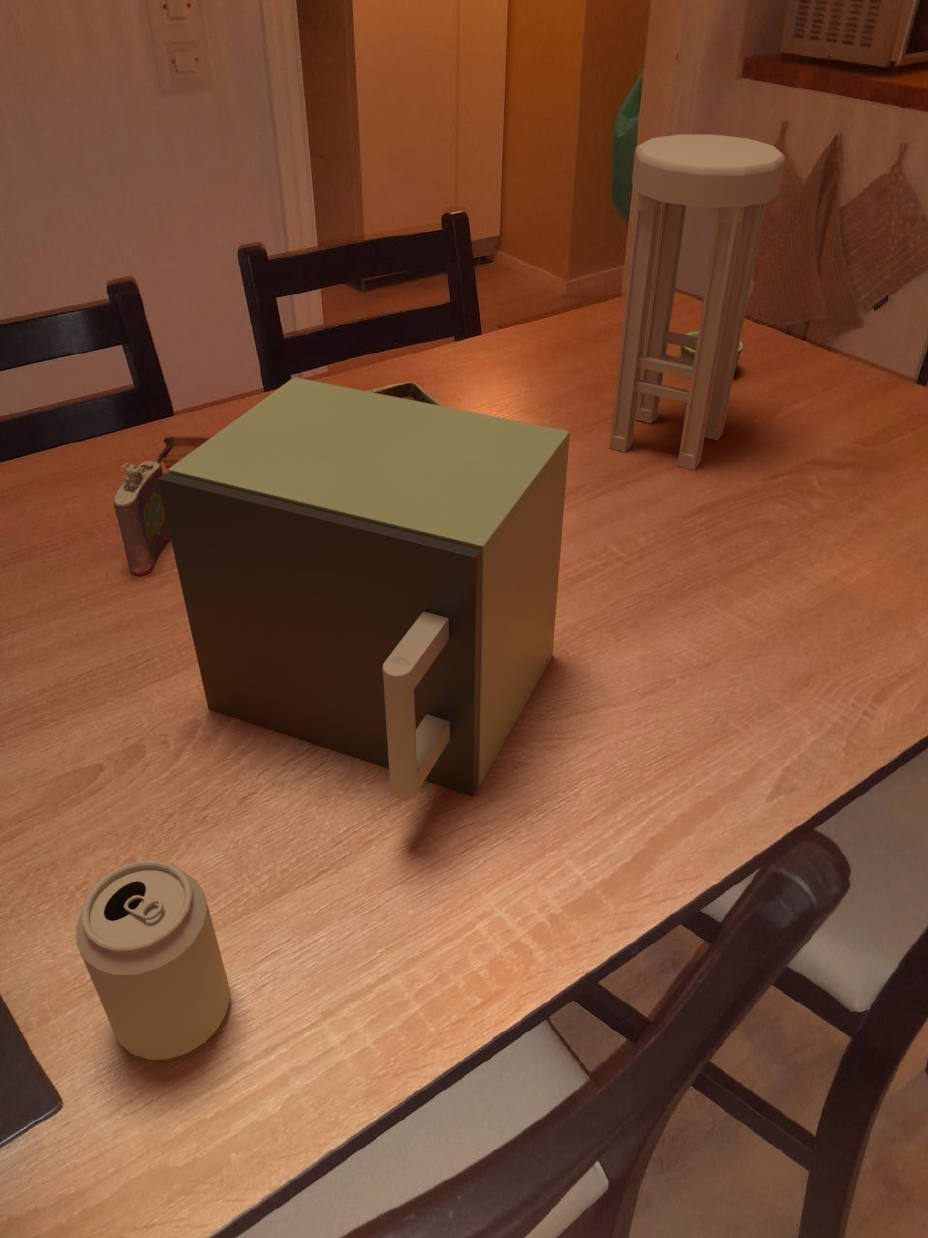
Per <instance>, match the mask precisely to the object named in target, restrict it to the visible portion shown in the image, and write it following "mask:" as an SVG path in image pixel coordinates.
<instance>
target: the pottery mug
mask: <svg viewBox="0 0 928 1238" xmlns="http://www.w3.org/2000/svg"><path fill="white" fill-rule="evenodd" d="M212 437H213V436H207V435H205V436H203V435H202V436H200V435H199V436H198V435H196V436H195V435H190V436H185V435H184V436H183V435H182V436H168V437H165V438H164V439H163V443H165V447H164V449H163V450H162V451H161V452H160V453H159V455H158V458H157V459H156V462H158V463H160V464H161V463H162V462H163V463H164V466H165V468H166V469H167V470H168V469H169V468H170V467H172V466H173V465H175V464H176V463H177V462H179V461H180V460H181V459H183V458H184V457H186V456H187V455H188V454H190V453H191V452H192V451H194V450H195V449H196V448H198V447H199V446H201V445H202V444H203V443H205V442H206V441H207V440H209V439H210V438H212Z"/></svg>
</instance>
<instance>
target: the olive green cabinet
mask: <svg viewBox="0 0 928 1238" xmlns="http://www.w3.org/2000/svg"><path fill="white" fill-rule="evenodd" d="M444 406H445V405H444ZM444 406H439V405H433V404H428V403H423V402H418V401H413V400H408V399H403V398H398V397H393V396H388V395H383V394H378V393H372V392H367V390H362V389H356V388H351V387H347V386H341V385H337V384H332V383H326V382H321V381H316V380H312V379H307V378H306V379H305V378H301V377H296V376H294V377H292V378H291V379H290V380H288V381H287V382H285V383H284V384H282V385H281V386H280V387H278V388H277V389H275V390H274V391H273V392H271V393H270V394H269V395H267V396H266V397H265V398H263V399H262V400H261V401H259V402H258V403H256V404H255V405H254V406H252V407H251V408H250V409H248V410H247V411H245V412H244V413H243V414H242V415H240V416H239V417H237V418H236V419H234V420H233V421H232V422H230V423H229V424H227V425H226V426H225V427H224V428H222V429H221V430H220V431H218V432H217V433H216V434H214V435H213V436H211V437H212V438H210V439H209V440H207V441H206V442H205V443H203V444H202V445H201V446H199V447H198V448H196V449H195V450H194V451H192V452H191V453H190V454H188V455H187V456H186V457H184V458H183V459H181V460H180V461H179V462H177V463H176V464H175V465H173V466H172V467H170V468H169V469H167V473H169V474H173V475H177V476H181V477H185V478H189V479H193V480H197V481H202V482H206V483H210V484H214V485H218V486H222V487H226V488H230V489H234V490H238V491H242V492H247V493H251V494H255V495H259V496H263V497H267V498H271V499H275V500H279V501H283V502H287V503H292V504H296V505H300V506H304V507H308V508H312V509H316V510H320V511H324V512H328V513H332V514H337V515H341V516H345V517H349V518H353V519H357V520H361V521H365V522H369V523H373V524H377V525H382V526H386V527H390V528H394V529H398V530H402V531H406V532H410V533H414V534H418V535H422V536H427V537H431V538H435V539H439V540H443V541H447V542H451V543H455V544H459V545H463V546H468V547H472V548H476V549H480V550H482V575H481V635H480V695H479V755H478V787H480V786H481V784H482V783H483V780H484V779H485V778H486V775H487V774H488V772H489V771H490V768H491V766H492V765H493V763H494V761H495V760H496V758H497V756H498V754H499V753H500V750H501V749H502V747H503V745H504V743H505V742H506V740H507V739H508V736H509V735H510V733H511V731H512V729H513V728H514V726H515V724H516V722H517V720H518V718H519V717H520V715H521V713H522V711H523V710H524V708H525V706H526V704H527V703H528V701H529V699H530V697H531V695H532V694H533V691H534V690H535V688H536V686H537V685H538V683H539V681H540V679H541V677H542V676H543V674H544V672H545V671H546V669H547V667H548V665H549V663H550V661H551V660H552V659H553V656H554V655H553V654H554V640H555V630H556V617H557V616H556V614H557V602H558V591H559V590H558V589H559V577H560V563H561V551H562V539H563V525H564V512H565V500H566V498H565V497H566V488H567V487H566V485H567V475H568V474H567V472H568V461H569V460H568V459H569V447H570V436H571V435H570V434H571V432H570V431H569V430H565V429H559V428H555V427H549V426H544V425H540V424H535V423H530V422H525V421H519V420H514V419H509V418H504V417H499V416H494V415H488V414H483V413H479V412H473V411H469V410H463V409H459V408H453V407H448V406H445V407H444Z"/></svg>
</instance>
